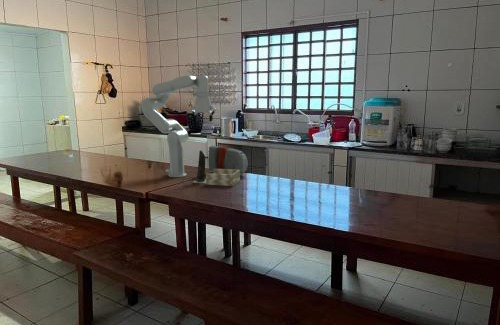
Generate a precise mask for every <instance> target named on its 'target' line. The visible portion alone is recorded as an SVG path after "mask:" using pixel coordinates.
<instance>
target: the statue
mask: <svg viewBox="0 0 500 325" xmlns="http://www.w3.org/2000/svg"><path fill="white" fill-rule="evenodd" d="M206 159H207V157H206V155H205V153H204V152H203V151H202V150H201V149H200V150H199V153H198V163H197V164H198V165H197V175H196V176H197V177H195V179H194V181H195V180H196V181H197V182H204V181H205V179H206V177H205V176H206V173H205V172H206Z"/></svg>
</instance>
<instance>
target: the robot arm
mask: <svg viewBox="0 0 500 325" xmlns="http://www.w3.org/2000/svg"><path fill="white" fill-rule="evenodd" d="M186 88H196V93H195V94H194V95H195V96H196V97H195V102H194V106H193V107H191V108H190V110H191V112H192V113H193V115H194V120H195V122H199V115H198V114H201V113H205V114H206V113H208V114H209V116H208V117H209V118H208V119H209V122H212V121H213V120H214V119H213V115H214V114H215V113H216V111H217V108H216V107H214V106H212V101H211V97H210V96H209V95H210V94H209V92H210V91H209V77H208V76H207V75H197V76H196V75H188V74H187V75H183V76H179V77H176V78H173V79H171V80H167V81H163V82H158V83H156V84H154V85H153V87H152V90H151V91H152V93H153V95H155V97H154V96H153V97H146V98H144V99H143V100H142V102H141V105H140V106H141V112H142V113H143V115H144V116H145V117H146V118H147V120H149V122H150V123H152V124H153V125H154V127H156V128H157V130H158V131H159V132H161V133H163V134H167V136H166V141H167V144H168V151H169V152H168V154H169V167H170V168H169V169H168V168H167V169H165V170H164V171H165V173H168V177H169V178H182V177H183V178H184V177H187V172H185V160H184V148H183V145H182V143H186V142H188V140H189V133H188V131H187V130H186V129H185V128H184V127H183V126H182V125H181V124H180V123H179V122H178V121H177V120H176V119H174V118H168V119H167V118H165V116H163V115H162V114H161V113H160V112H159V111H157V110H161V109H162V108H163V107H164V106H165V104H166V102H167V101H168V98H170V95H171V94H175V93H177V92H178V90H182V89H186Z"/></svg>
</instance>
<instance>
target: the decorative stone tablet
mask: <svg viewBox="0 0 500 325" xmlns="http://www.w3.org/2000/svg"><path fill="white" fill-rule="evenodd" d="M207 162H208V163H207V164H208V166H207V167H208V171H210V172H213V169H230V170H240V176H241V175H243V174H244V173H245V172H246V171H247V168H248V165H249V162H248V156H246V154H245V153H244V152H243V151H242V150H239V149H236V148H230V147H226V146H218V145H210V146H209V147H208V161H207Z"/></svg>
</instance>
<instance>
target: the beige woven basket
mask: <svg viewBox="0 0 500 325" xmlns="http://www.w3.org/2000/svg"><path fill="white" fill-rule="evenodd" d="M212 172H213V173H205V179H206V183H205V185H207V186H209V185H210V186H229V187H235V185H237V183H238V184H239V182H240V181H241V175H240V170H230V169H213V171H212Z"/></svg>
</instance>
